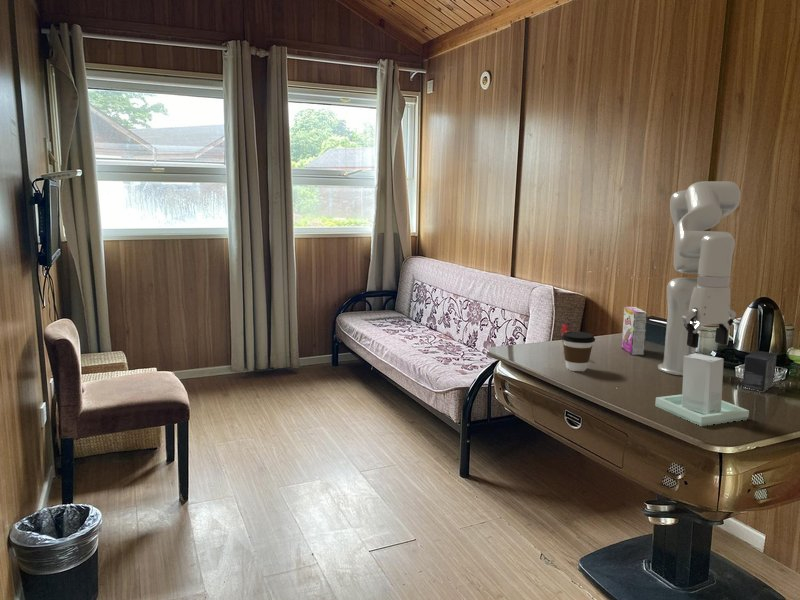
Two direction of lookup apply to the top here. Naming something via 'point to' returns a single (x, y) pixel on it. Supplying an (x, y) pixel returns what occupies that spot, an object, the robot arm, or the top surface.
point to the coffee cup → (577, 349)
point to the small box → (759, 370)
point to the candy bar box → (634, 330)
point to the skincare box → (702, 383)
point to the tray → (725, 415)
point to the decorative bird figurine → (564, 329)
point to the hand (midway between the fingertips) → (706, 345)
